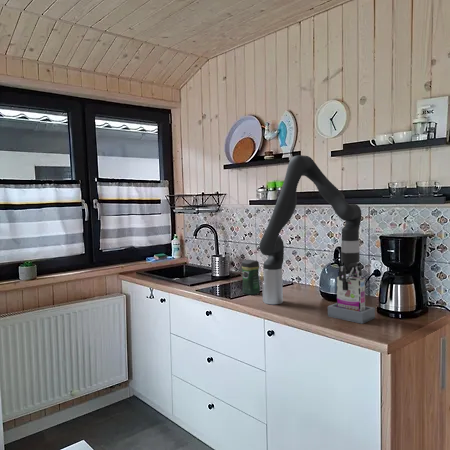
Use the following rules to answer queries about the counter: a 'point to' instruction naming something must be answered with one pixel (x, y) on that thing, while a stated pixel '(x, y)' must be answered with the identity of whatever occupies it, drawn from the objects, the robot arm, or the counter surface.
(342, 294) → the candy bar box
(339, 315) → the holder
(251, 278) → the coffee jar
